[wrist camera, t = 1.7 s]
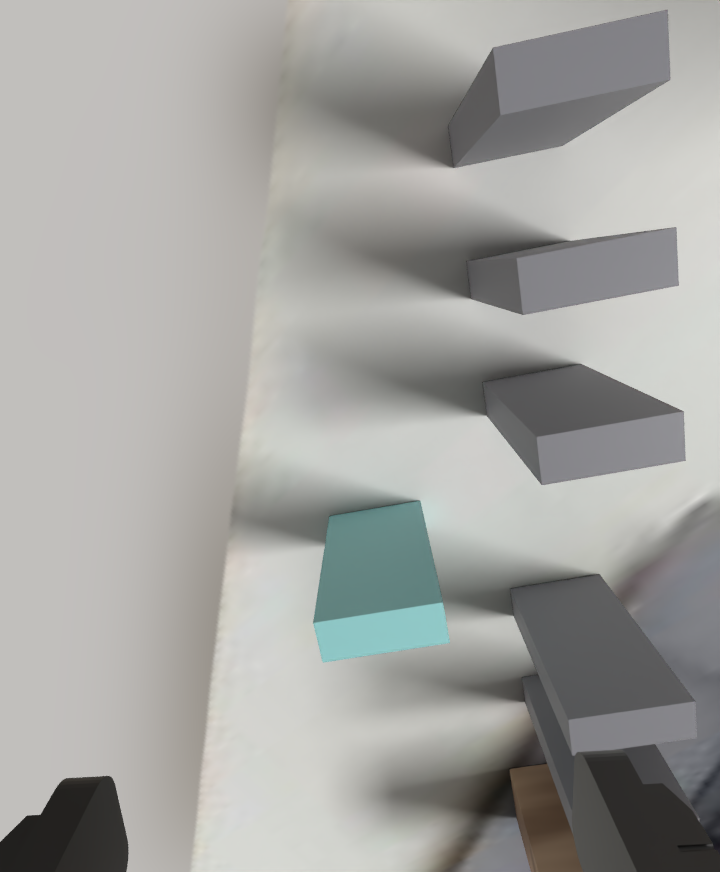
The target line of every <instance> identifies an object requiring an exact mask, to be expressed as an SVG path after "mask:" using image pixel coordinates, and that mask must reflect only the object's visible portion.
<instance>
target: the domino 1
mask: <svg viewBox="0 0 720 872" xmlns="http://www.w3.org/2000/svg"><path fill="white" fill-rule="evenodd" d="M313 624H314V628H315V632H316V636H317V640H318V645H319V649H320V653H321V657H322V661H323V662H329V661H336V660H342V659H349V658H355V657H362V656H368V655H375V654H381V653H388V652H394V651H401V650H407V649H414V648H420V647H427V646H433V645H439V644H446V643H450V641H449V635H448V629H447V623H446V617H445V611H444V606H443V600H442V596H441V591H440V587H439V582H438V578H437V574H436V569H435V565H434V560H433V556H432V551H431V547H430V542H429V538H428V533H427V529H426V524H425V520H424V516H423V511H422V507H421V502H420V501H415V502H409V503H403V504H397V505H392V506H386V507H380V508H374V509H368V510H362V511H356V512H350V513H345V514H339V515H333V516H329V522H328V529H327V535H326V542H325V549H324V555H323V562H322V569H321V575H320V582H319V588H318V595H317V602H316V608H315V615H314V622H313Z"/></svg>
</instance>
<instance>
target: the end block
mask: <svg viewBox="0 0 720 872" xmlns="http://www.w3.org/2000/svg"><path fill="white" fill-rule="evenodd" d="M510 776H511V783H512V790H513V796H514V803H515V810H516V817H517V821H518V825H519V829H520V832H521V836H522V840H523V843H524V847H525V851H526V855H527V858H528V862H529V866H530V869H531V872H583V870H582V867H581V865H580V862H579V858H578V855H577V851H576V846H575V842H574V836H573V833H572V831H571V828H570V825H569V822H568V820H567V817H566V814H565V811H564V808H563V806H562V803H561V800H560V797H559V795H558V792H557V789H556V786H555V783H554V781H553V778H552V775H551V772H550V770H549V767H548V764H541V765H534V766H527V767H520V768H513V769H510Z"/></svg>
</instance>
